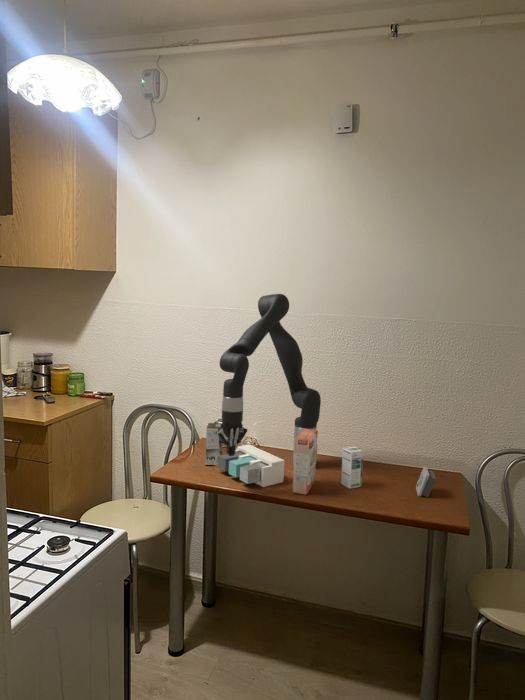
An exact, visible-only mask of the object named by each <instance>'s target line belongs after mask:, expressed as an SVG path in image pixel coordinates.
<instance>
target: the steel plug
mask: <svg viewBox="0 0 525 700" xmlns="http://www.w3.org/2000/svg"><path fill="white" fill-rule="evenodd" d="M264 466H268V465H266V464H264V463H262V462H260V463H255V464H251V465H246V466H242V467H240V477H239V481H240V482H241V481H242V482H243V483H245V484H247V485H249V484H253V483H254V482H258V481H261V469H262V467H264ZM254 484H255V483H254Z"/></svg>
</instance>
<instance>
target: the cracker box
mask: <svg viewBox="0 0 525 700" xmlns="http://www.w3.org/2000/svg"><path fill="white" fill-rule="evenodd" d="M318 434H319V432H318V430H311V429H303V430H302V431H301V432H300V434H299V435H298V436H297V437H296V439H295V456H294V466H293V476H292V491H291V492H292V494H293V493H295V494H297V495H298V494H299V495H303V496H304V495H306V496H308V493H309V492H310V490H311V488H312V486H313V485H314V483H315V477H316V476H315V475H316V466H317V464H316V449H317V450H318ZM315 465H316V466H315Z"/></svg>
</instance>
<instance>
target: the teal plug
mask: <svg viewBox="0 0 525 700" xmlns="http://www.w3.org/2000/svg"><path fill="white" fill-rule="evenodd" d="M253 460H256V459H254V458H252V457H246V458H241V459H236V460H232V461H229V471H228V475H230V476H232V477H234V478H240V467H242V466H246V465H250V461H253Z"/></svg>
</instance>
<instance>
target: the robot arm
mask: <svg viewBox="0 0 525 700" xmlns="http://www.w3.org/2000/svg"><path fill="white" fill-rule="evenodd" d="M257 308H258V312H259V315H260V317H261V318H260V319H258V320H257V321H255V322H254V323H253V324H251V325H249V327H248V328H247V329H246V330H244V332H243V334H242V335H241V336H240V337H239V339H238V341H237V342H235V343H234V344H233V345H232V346H230V347H229V348H228V349H226V350H225V351H224V352H223V353H222V355H221V357H220V358H219V367H220V370H222V371H224V372H226V373H232V374H233V377H232V378H229V379H225V380H224V382H223V388H222V389H223V390H222V391H223V393H222V395H223V396H222V401H221V423H222V426H221V429H220V430H219V431H218V432H216V433H215V434H216V436H217V437H218V438H219V440H220V441H221V442H222V444H223V445H225V446H226V454H228V455H229V456H234V454H235V450H236V447H237V446H236V445H237V444H240V443H242V440H243V439H244V437H245V436H246V434H247V432H248V429H247V428H245V427H244V425H243V419H244V417H243V416H244V385H245V381H246V377H247V376H248V375H247V374H248V371H249V367H250V362H249V357H250V356H252V355H253V354H254V353H255V352H256V350H257V348H259V347H258V346H259V345H260V344H261V342H262V341H263V340H264V338H265V337H266V336H267V335H268V334H269V336H270V339H271V340H272V343H273V347H274V349H275V352H276V355H277V357H278V360H279V363H280V366H281V368H282V370H283V373H284V375H285V378H286V381H287V385H288V387H289V389H288V390H289V393H290V396H291V400H292V402H293V403H292V404H294V406H296V407H297V408H298V409H301V411H300V416H297V417H295V419H294V428H293V429H294V432H293V449H292V451H293V454H292V455H293V456H292V466H293V467H294V456H295V439H296V437H297V436H298V435H299V434H300V432H301V431H302V430H303V429H311V430H317V428H318V427H317V426H318V422H319V419H320V413H321V404H322V403H321V394H320V393H319V391H318V390H316V389H313V388H311V387H308V386H307V384H306V383H305V380H304V377H303V372H302V371H303V361H304V360H303V355H302V352H301V349H300V347H299V344H298V342H297V340H296V339H295V338H294V337H293V336H292V335H291V334H290V333H289V332H288V331H287V330H286V329H285V328H284V326H283V325H282V324H281V320H282V319H283V318H284V317H285V316H286V315H287V314H288V313H289V310H290V301H289V298H288V296H286V295H285V294H283V293H273V294H266V295H262V296H261V297H260V298H259V300H258V302H257ZM317 431H318V430H317ZM317 459H318V448H317V449H316V465H315V467H316V466H317V464H318V463H317V462H318V460H317Z"/></svg>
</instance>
